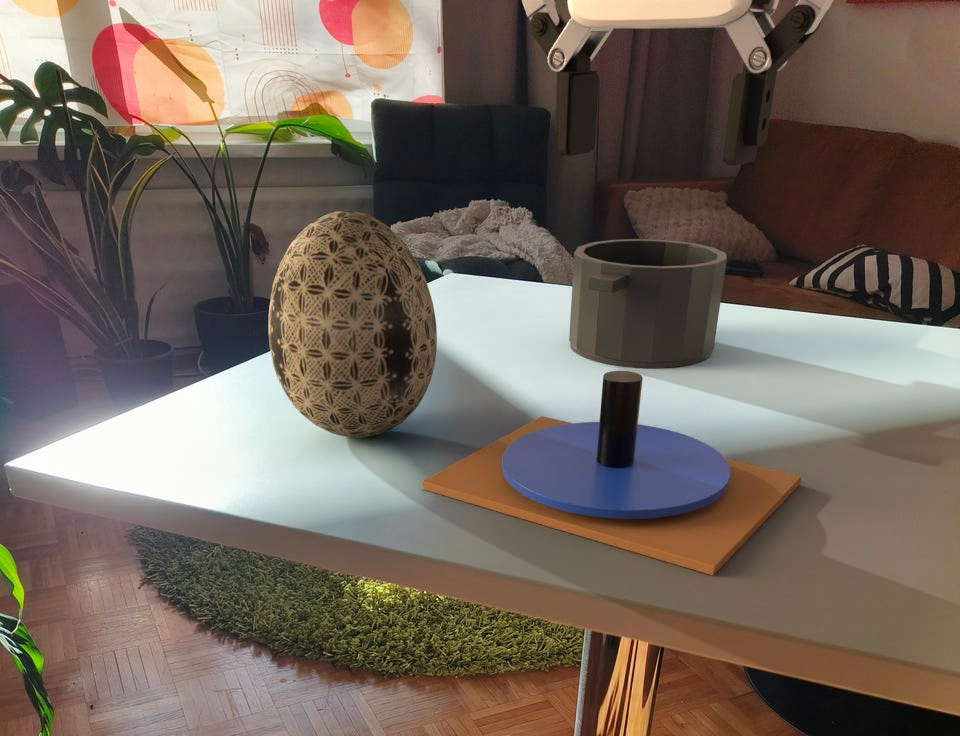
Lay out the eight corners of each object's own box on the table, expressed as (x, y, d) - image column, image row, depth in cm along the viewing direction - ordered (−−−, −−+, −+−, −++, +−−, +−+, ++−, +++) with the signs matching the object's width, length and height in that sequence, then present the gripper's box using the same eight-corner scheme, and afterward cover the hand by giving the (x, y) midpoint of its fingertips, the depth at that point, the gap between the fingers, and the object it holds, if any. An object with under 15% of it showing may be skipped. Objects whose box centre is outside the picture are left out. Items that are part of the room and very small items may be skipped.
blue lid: (760, 467, 60) (780, 367, 56) (670, 551, 50) (686, 436, 46) (571, 423, 67) (576, 331, 63) (457, 489, 56) (456, 385, 53)
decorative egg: (254, 426, 67) (224, 208, 59) (387, 397, 73) (376, 194, 65) (327, 476, 60) (303, 233, 51) (470, 439, 65) (469, 215, 57)
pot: (743, 336, 89) (758, 245, 84) (663, 385, 76) (676, 280, 71) (621, 316, 96) (629, 230, 91) (528, 358, 82) (532, 260, 78)
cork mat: (800, 484, 59) (802, 475, 59) (713, 576, 49) (715, 566, 48) (541, 423, 68) (541, 415, 68) (422, 489, 58) (422, 480, 58)
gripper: (919, -296, 38) (833, 160, 47) (563, -233, 46) (551, 145, 55) (874, -348, 33) (788, 175, 42) (482, -267, 41) (485, 156, 50)
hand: (654, 158), depth 49 cm, fingers open, 9 cm apart
